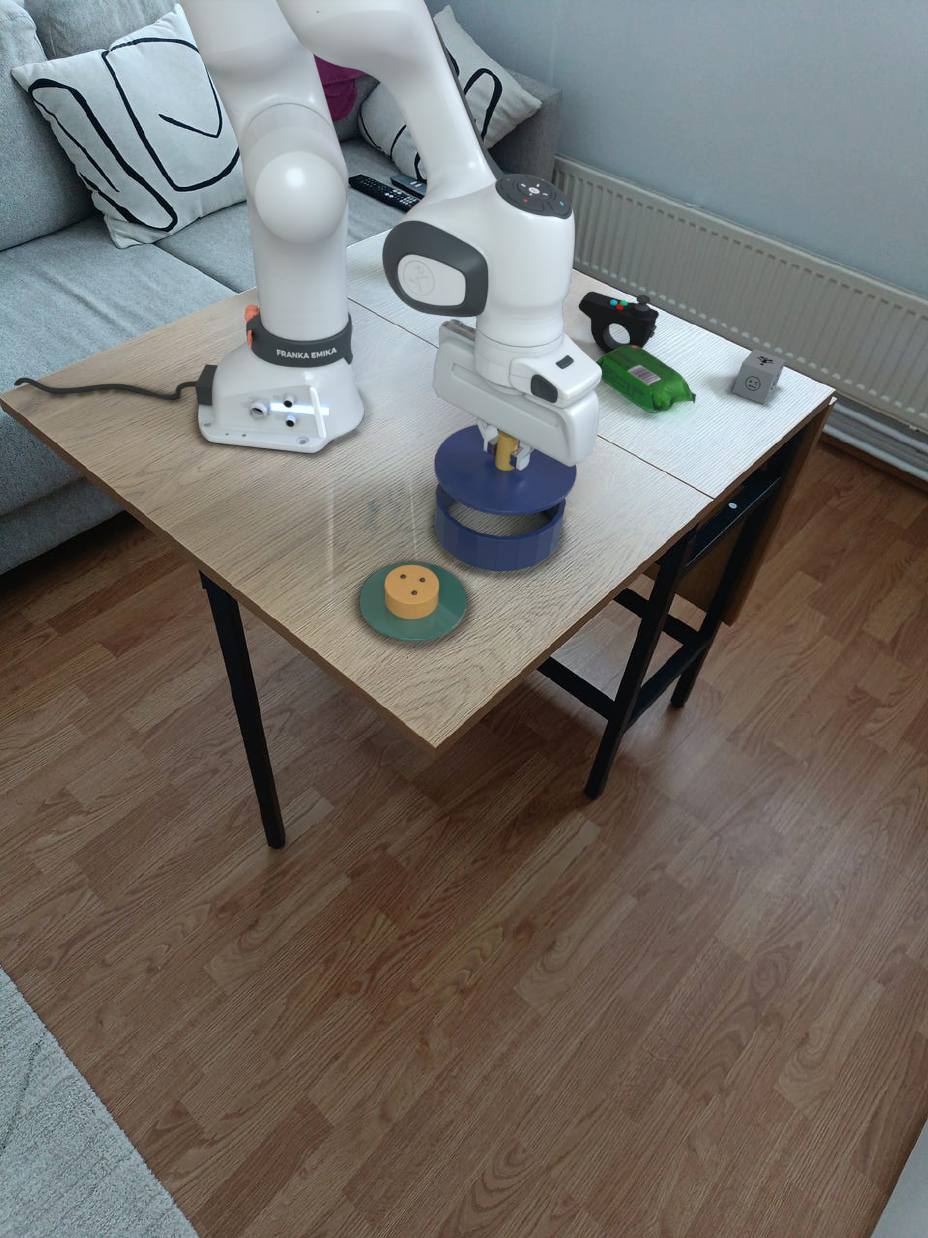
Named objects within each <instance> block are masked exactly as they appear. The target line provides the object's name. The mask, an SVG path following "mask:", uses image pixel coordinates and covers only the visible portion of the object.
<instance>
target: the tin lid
mask: <svg viewBox="0 0 928 1238" xmlns="http://www.w3.org/2000/svg"><path fill="white" fill-rule="evenodd" d="M497 431H498V438H497V449H496V456H493V455H491V454H489V453H488V452H486V451H484V439H483V437H482V434H481V432H480V430H479V427H478V425H477V423H476V424H472V425H469V426H465V427H464V428H461V429H459V430H457V431H456V432H453V433H452V434H451V435H449V436H448V437H446V439H444V441H443V442H442V443H441V444H440V445H439V446H438V448H437V450H436V452H435V455H434V460H433V470H434V475H435V478H436V480H437V483H439V484H440V485H441V487H442V488H443V489H444V490H445V492H446V493H447V494H449V495H450V496H451V497H452V498H453V499H455V500H454V501H456V502H458V503H460V504H461V505H463V506H465V507H467V508H470V509H472V510H475V511H478V512H482V513H485V514H489V515H495V516H505V517H506V516H507V517H514V516H515V517H517V516H518V517H519V516H527V515H532V514H537V513H540V512H543V511H545V510H546V509H549V508H551V507H553V506H555V505H557V504H558V503H559V502H561V501H562V500H563V499H564V498H565V499H566V498H567V497H568V496H569V494H570V493H571V492H572V490H573V488H574V486H575V483H576V479H577V476H578V475H577V474H578V472H577V471H578V470H577V464H576V465H574V466H571V467H569V466H567V465H565V464H563V463H561V462H559V461H557V460H556V459H554V458H552V457H550V456H548V455H546V454H544V453H542V452H540V451H539V450H537V449H534V450H533V451H532V452H531V453H530V458H529V463H528V465H527V466H526V467H525V468H524V469H522V470H518V469H517V468H515V467H513V466H511V465H510V461H511V460H510V455H511V453H512V452H514V451H516V450H517V449H518V448H519V447H520V440H518V439H516V438H514V437H512V436H511V435H509V434H507V433H505V432H503V431H501V430H499V429H497Z"/></svg>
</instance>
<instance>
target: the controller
mask: <svg viewBox="0 0 928 1238" xmlns="http://www.w3.org/2000/svg"><path fill="white" fill-rule="evenodd" d="M636 302H637V303H636ZM636 302H629V301H627V300H624V299H623V300H622V299H619V298H616V297H612V296H609V295H606V294H603V293H599V292H596V291H588V292H587V293H585V295H584V296H583V297H582V299H581V300H580V302H579V303H578V306H577V308H578V310H579V311H580V312H582V313H583V314H584V315H585V316H587V317H588V318H589V319H590V332H591V337H592V338H593V340H594V342H595V344H596V345H597V346H598V347H599V348H600V349H601V350H602V351H603V352H605V354H607V353H609V352H611V351H613V350H615V349H617V348H619V347H621V346H624V345H636V346H638V347H641V348H642V349H644V347H645V345H647V343H648V342H649V340H650V339H651V338H653V337H654V336H655V334H656V332H655V331H656V330H657V327H658V326H657V325H656V322H657V319H658V318H659V316H660V313H659V311H658V310H656V309H654V308H652V307H650V306H649V304H650V303H651V297H650V296H648V295H646V294H639V295H638V296H636ZM611 325H617V326H621V327H622V328H624V329H625V330H626V332H627V334H628V336H629V341H628V342H627V343H622V342H619V341H616V340H615V339H614V337H613V336H612V334H611V332H610V326H611Z"/></svg>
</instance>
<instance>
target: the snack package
mask: <svg viewBox="0 0 928 1238" xmlns="http://www.w3.org/2000/svg"><path fill="white" fill-rule="evenodd" d="M595 362H596V363H597V364H598V365H599V366H600V368H601V370H602V377H601V380H603V382H604V383H606V384H607V385H608V386H609V387H611V388H613V389H614V390H615V391H616V392H618V393H619V394H621V395H622V396H624V397H625V398H626V399H627V400H629V401H631V402H632V403H633V404H635V405H636V406H638V407H640V408H641V409H642V410H644V411H646V412H648V413H650V414H656V413H658V412H666V411H668V410H670V409H671V408H672V407H673V406H675V405H678V404H682V403H687V402H692V403H693V404H695V403H696V397H697V394H696V393H694V392H693V391H692V390H691V389H690V386H689V384H688V382H687V381H686V379H685V378H684V377H683V376H682V374H681V373H679V372H678V371H676V370H675V369H674V368H672V367H671V366H669V365H668V364H666V362H665V363H664V362H663V361H662V360H660V359H659V358H658V357H656V356H655V355H653V354H651V353H650V352H649V351H647V350H646V349H644V348H641V347H638V346H636V345H624V346H621V347H619V348H617V349H615V350H613V351H611V352H609V353H605V354H603V355H601V356H600V357H599V358H598V359H597V360H596V361H595Z"/></svg>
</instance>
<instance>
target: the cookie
mask: <svg viewBox="0 0 928 1238" xmlns="http://www.w3.org/2000/svg"><path fill="white" fill-rule="evenodd" d="M438 595H439V581H438V578H437V577H436V575H435V574H434V573H433V572H432V571H431V570H429V569H427V568H425V567H422V566H418V565H404V566H400V567H398V568H396V569H394V570H392V571H391V572H390V573H389V574H388V575H387V577H386V579H385V604H386V606H387V608H388V609H389V611H390V612H391V613H393V614H394V615H396V616H398V617H400V618H404V619H420V618H423V617H426V616H428V615H429V614H431V613H432V612H433V611H434V610H435V609H436V607H437V604H438Z"/></svg>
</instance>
